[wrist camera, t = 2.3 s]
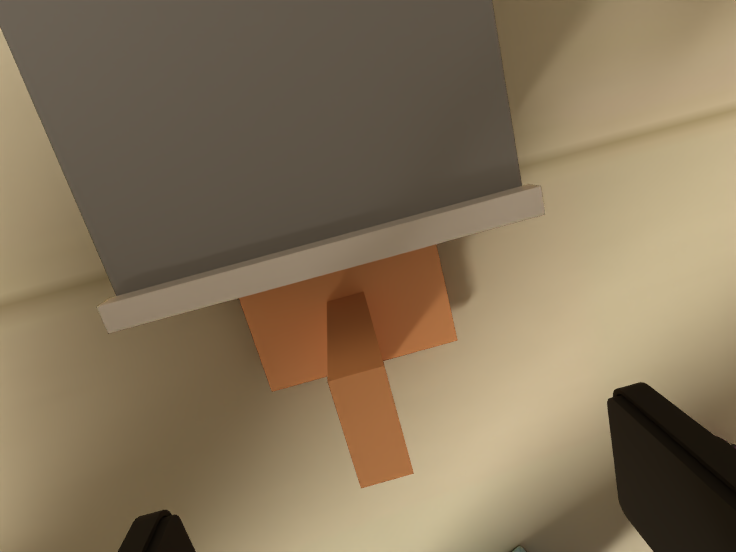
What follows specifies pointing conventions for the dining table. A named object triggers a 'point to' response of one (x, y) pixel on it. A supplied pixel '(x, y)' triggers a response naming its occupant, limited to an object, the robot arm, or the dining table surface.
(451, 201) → the grey boxy piece
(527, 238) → the dining table surface
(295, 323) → the orange stepped block
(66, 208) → the dining table surface
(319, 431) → the dining table surface
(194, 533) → the dining table surface
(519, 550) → the teal product box
